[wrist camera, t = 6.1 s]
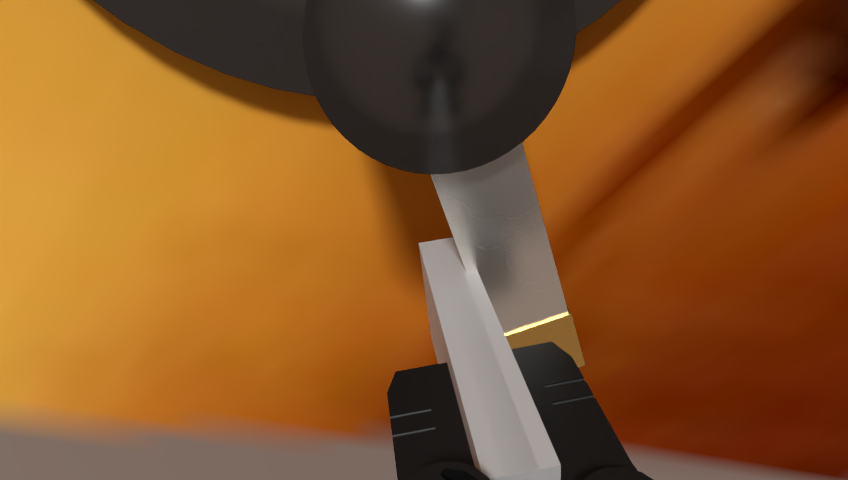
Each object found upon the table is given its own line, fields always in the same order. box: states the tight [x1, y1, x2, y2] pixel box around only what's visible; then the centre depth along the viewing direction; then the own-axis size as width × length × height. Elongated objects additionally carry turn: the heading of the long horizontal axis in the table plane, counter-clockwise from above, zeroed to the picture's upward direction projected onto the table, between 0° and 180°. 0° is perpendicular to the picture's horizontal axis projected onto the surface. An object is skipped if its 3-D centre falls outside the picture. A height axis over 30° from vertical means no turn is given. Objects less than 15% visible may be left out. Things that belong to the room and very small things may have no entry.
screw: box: [302, 0, 585, 367], centre depth 13 cm, size 10×4×6 cm, turn 20°
